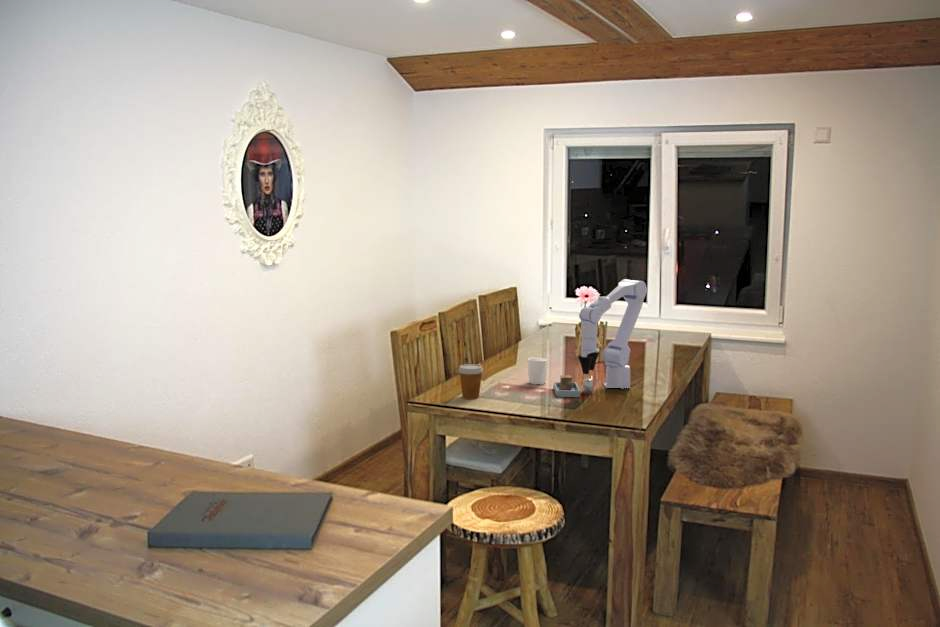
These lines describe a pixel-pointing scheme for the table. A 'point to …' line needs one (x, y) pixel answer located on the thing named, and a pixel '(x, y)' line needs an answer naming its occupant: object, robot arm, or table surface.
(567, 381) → the walnut block
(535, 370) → the white cup
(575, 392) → the parts tray
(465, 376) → the disposable coffee cup
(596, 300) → the robot arm
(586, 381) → the metal cylinder
